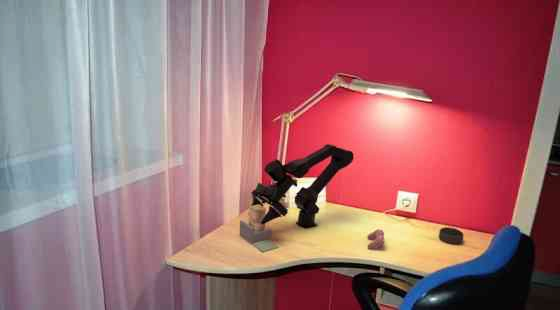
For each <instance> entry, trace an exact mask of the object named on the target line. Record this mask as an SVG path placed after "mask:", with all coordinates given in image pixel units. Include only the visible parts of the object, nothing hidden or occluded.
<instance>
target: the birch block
mask: <svg viewBox="0 0 560 310" xmlns="http://www.w3.org/2000/svg"><path fill="white" fill-rule="evenodd" d="M266 209H267V208H266V207H264V206H261V205H260V204H259V205H253V206H252V205H249V207H248V213H249V215H248V224H249V225H250V226H251V227H253V228H254V233H257V232H261V231H265V230H266V228H265V227H266V223H265V224H263V225H262V224H261V221H262V219H263V218H264V217H265V215H266V211H267V210H266Z"/></svg>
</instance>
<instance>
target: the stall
mask: <svg viewBox="0 0 560 310" xmlns="http://www.w3.org/2000/svg"><path fill="white" fill-rule="evenodd" d="M239 235H240V236H241V237H242V238H243V239H244V240H246V241H247V242H248V243H250V244H251V245H252V243H256V242H260V241H264V240H270V239H272V229H271V228H270V229H265V231H261V232H257V233H254V228H253V227H251V226H250V225H249V223H248V222H246V221H244V219H243V220H242V219H240V220H239Z"/></svg>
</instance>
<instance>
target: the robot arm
mask: <svg viewBox="0 0 560 310" xmlns="http://www.w3.org/2000/svg"><path fill="white" fill-rule="evenodd" d="M328 158H330V162H329V164H328V165H326V167H325V168H324V169H323V171H321V172H320V174H319V175H318V176H317V178H316V179H315V180H314V181H313V182H312V183H311V184H310V185H309V186H307V187H306V188H305V187H304V186H302V187H301V188H300V189H299V191H298V192H296V193H295V196H294V204H295V206H296V208H297V209H298V210H299V213H298V216H297V221H296V224H297V225H299V227H302V228H304V229H309V228H314V227H317V226H318V224H317V223H316V222H315V221H316V214H319V211H320V208H319V207H320V206H318V205H317V204H316V203H317V202H318V198H319V194H320V193H321V192H322V191H323V190H324V189H325V187H326V186H327V185H328V184H329V183H330V182H331V181H332V179H333V178H334V177H335V176H336V175H337V173H338V172H339V171H340V170H342V169H344V168H347V167H348V166H350V164H351V163H352V162H353V161H354V153H353V151H351V150H349V149H345V148H343V147H337V146H336V145H333V144H331V143H330V144H329V143H327V144H325V145H324V146H323V147H321V148H319V149H317V150H316V151H314V152H312V153H310V154H308V155H306V156H305V157H302V158H297V159H296V158H295V159H293V160H290V161H288V162H287V163H284V164H282V161H281V160H279V159H276V158H275V159H274V160H273V161H270V162H269V163H267V164H266V165H265V167H264V172H265V174H266V175H267V176H269V178H270V179H271V180H272V181H273V182H275V183H274V184H273V183H271V184H268V185H267V184H263V183H260V182H258V183H257V185H256V188H255V189H253V190H252V191H251V192H250V195H251V197H252V203H251V206H253V205H259V204H260V205H261V206H263V207H264V204H267V205H269V206H268V211H267V213H265V217H264V218H263V219H262V221H261V224H262V225H263V224H265V225H266V224H267V223H269V222H270V221H273V220H275V219H278V218H282V217H286V216H287V214H288V213H289V209H288V208H287V207H286V206H285V204H283V203H282V202H280V201H281V200H282V199H283V198H284V199H286V197H287V195H286V194H287V192H288V191H289V190H290V189H291V188H292V187H295V188H296V187H298V180H297V179H301V178H303V177H305V176H306V175H307V174H308V173H309V172H310V169H311V168H313V167H315V166H316V165H318V164H320V163H322V162H324V161H325V160H327V159H328ZM293 177H294V178H293ZM296 178H297V179H296ZM248 216H249V212H248Z"/></svg>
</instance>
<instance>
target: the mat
mask: <svg viewBox="0 0 560 310" xmlns="http://www.w3.org/2000/svg"><path fill="white" fill-rule="evenodd" d="M251 245H252V246H253V247H254V248H256V249H257V250H258V251H259V252H261V253H265V252H268V251H272V250H276V249H279V246H278V245H276V243H273V242H272V241H271V240H270V239H267V240H263V241H259V242H256V243H252V244H251Z"/></svg>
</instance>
